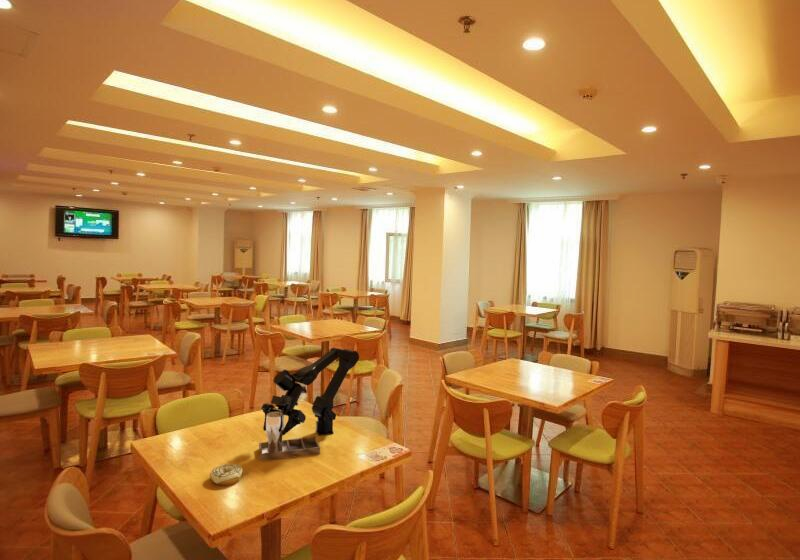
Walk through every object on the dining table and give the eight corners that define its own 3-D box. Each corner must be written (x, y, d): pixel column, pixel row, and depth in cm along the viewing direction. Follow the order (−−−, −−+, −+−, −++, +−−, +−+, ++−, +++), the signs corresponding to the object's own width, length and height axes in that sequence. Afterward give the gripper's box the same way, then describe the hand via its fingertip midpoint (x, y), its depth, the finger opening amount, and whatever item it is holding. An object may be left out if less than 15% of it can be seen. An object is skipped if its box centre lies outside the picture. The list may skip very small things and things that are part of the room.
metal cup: (287, 450, 183) (288, 413, 182) (276, 456, 177) (276, 418, 176) (273, 446, 186) (274, 410, 185) (261, 453, 180) (262, 415, 179)
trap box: (315, 442, 192) (315, 436, 192) (319, 453, 181) (320, 447, 181) (259, 448, 185) (259, 442, 184) (260, 460, 174) (260, 454, 174)
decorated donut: (213, 490, 153) (213, 479, 152) (207, 476, 162) (207, 466, 161) (245, 482, 158) (245, 471, 158) (238, 469, 167) (237, 459, 167)
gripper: (264, 383, 188) (244, 418, 178) (301, 390, 180) (282, 427, 170) (277, 397, 195) (258, 431, 186) (313, 404, 187) (295, 440, 178)
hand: (273, 432), depth 180 cm, fingers open, 9 cm apart
